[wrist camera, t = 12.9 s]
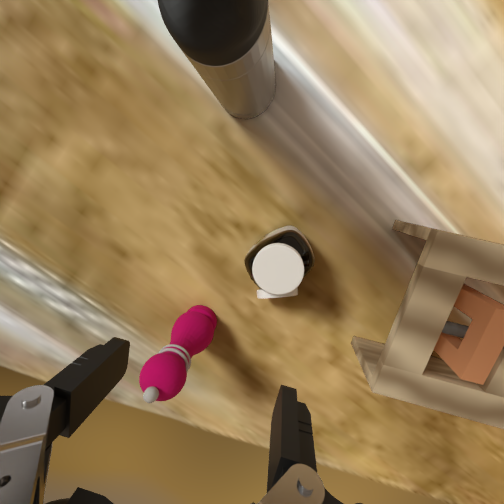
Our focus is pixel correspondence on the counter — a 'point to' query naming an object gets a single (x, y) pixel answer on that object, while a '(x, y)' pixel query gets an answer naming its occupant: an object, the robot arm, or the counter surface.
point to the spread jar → (279, 262)
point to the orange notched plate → (474, 337)
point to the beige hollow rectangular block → (436, 331)
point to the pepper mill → (177, 354)
